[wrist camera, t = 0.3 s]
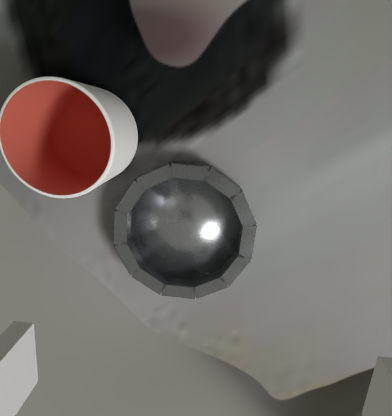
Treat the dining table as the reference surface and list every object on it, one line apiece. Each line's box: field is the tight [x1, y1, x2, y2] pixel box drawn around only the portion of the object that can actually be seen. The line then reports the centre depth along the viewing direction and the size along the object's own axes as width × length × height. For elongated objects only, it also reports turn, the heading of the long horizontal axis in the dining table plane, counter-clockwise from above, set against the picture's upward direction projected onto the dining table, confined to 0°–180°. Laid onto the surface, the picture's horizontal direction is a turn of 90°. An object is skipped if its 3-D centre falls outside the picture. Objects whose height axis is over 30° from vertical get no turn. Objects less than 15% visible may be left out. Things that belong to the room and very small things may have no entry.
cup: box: [0, 76, 138, 198], centre depth 31 cm, size 10×10×10 cm
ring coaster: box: [114, 161, 257, 299], centre depth 37 cm, size 16×16×3 cm
